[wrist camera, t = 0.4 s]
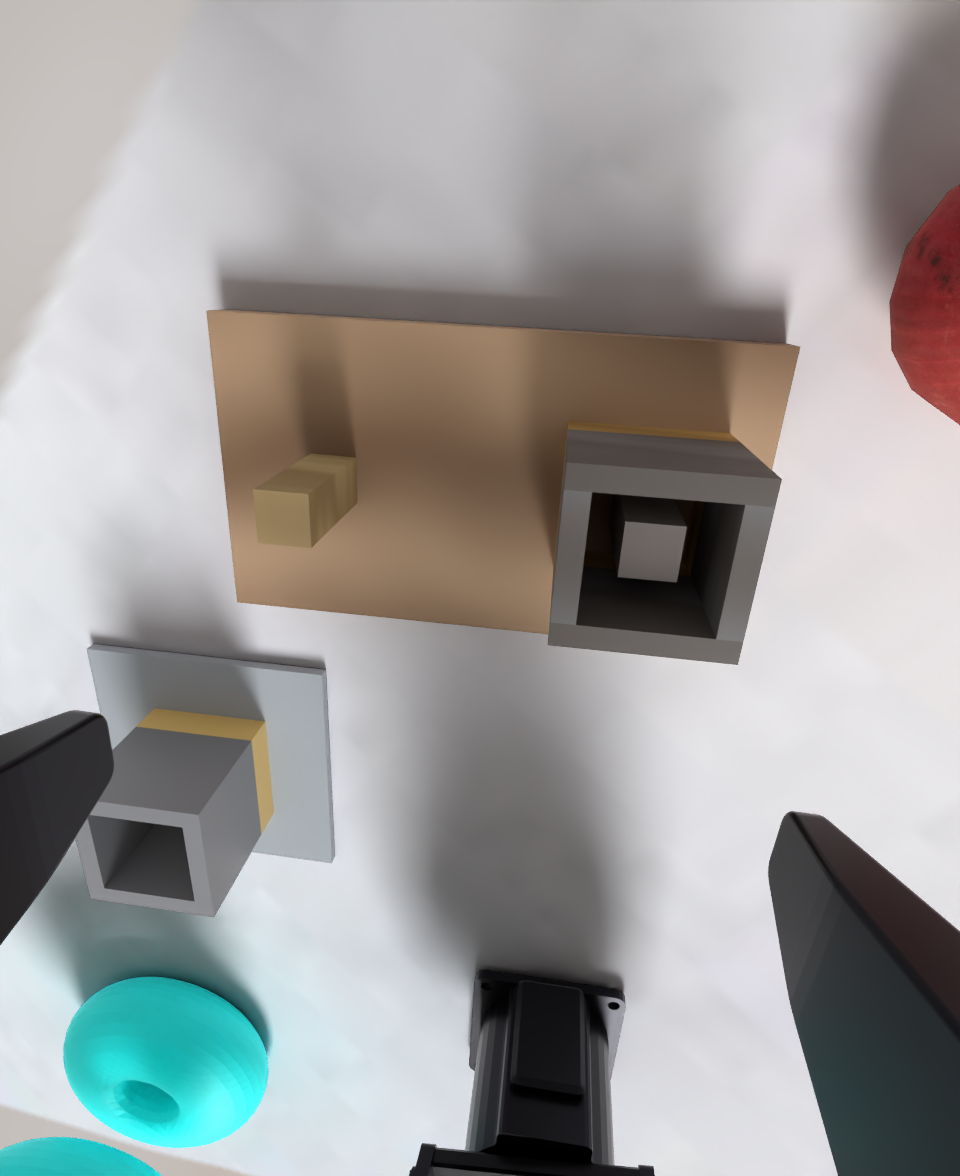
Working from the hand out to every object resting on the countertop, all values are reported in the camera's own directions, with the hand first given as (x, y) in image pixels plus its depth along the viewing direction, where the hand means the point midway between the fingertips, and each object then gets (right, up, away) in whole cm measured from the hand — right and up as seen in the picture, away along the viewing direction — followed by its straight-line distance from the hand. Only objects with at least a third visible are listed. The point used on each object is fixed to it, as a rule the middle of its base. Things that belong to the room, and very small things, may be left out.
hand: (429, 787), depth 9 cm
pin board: (+1, +6, +12) cm, 14 cm away
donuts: (-14, -20, +26) cm, 36 cm away
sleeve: (-10, -4, +18) cm, 21 cm away
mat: (-10, -4, +18) cm, 21 cm away
